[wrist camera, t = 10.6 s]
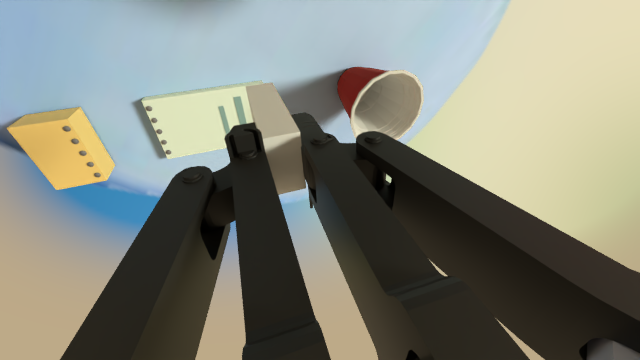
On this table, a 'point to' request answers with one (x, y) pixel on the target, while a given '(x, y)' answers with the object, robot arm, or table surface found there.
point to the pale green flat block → (198, 117)
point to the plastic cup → (381, 100)
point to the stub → (63, 147)
